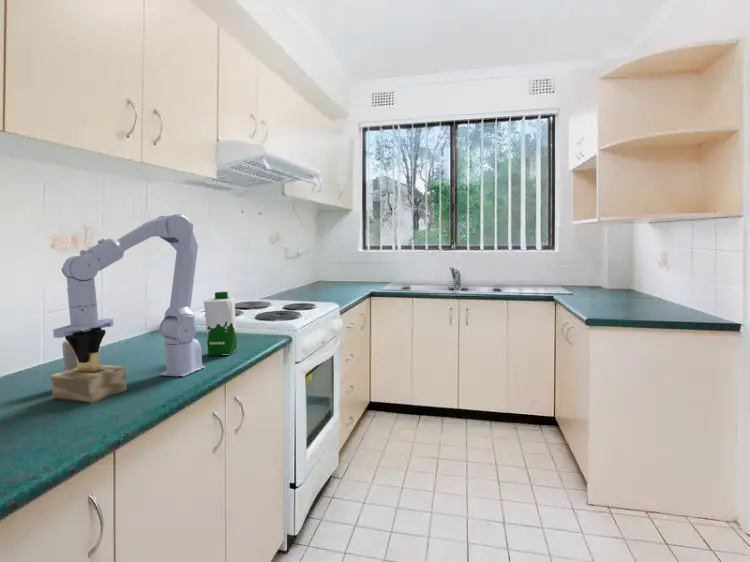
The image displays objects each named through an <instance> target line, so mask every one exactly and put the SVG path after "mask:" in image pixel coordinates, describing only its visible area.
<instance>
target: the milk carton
mask: <svg viewBox="0 0 750 562" xmlns="http://www.w3.org/2000/svg"><path fill="white" fill-rule="evenodd" d="M235 304H236V299H235V297H230V296H229V294H228V291H216V292H215V293H214V297H212V298H210V299H206V300H204V301H203V307H204V311H205V328H206V329H205V330H206V343H207V345H206V346H207V356H208V355H222V354H230V353H231V352H233V351H234V350H235V349H236V348H238V347H237V346H238V345H237V344H238V339H237V323H236V322H237V321H236V319H237V318H236V305H235Z"/></svg>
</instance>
